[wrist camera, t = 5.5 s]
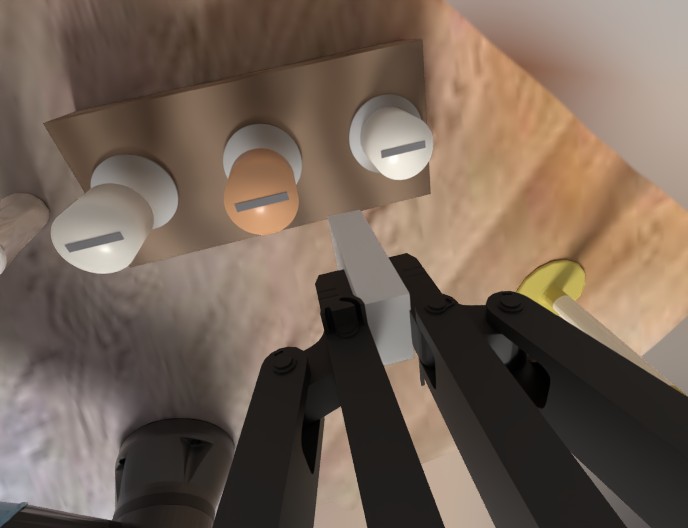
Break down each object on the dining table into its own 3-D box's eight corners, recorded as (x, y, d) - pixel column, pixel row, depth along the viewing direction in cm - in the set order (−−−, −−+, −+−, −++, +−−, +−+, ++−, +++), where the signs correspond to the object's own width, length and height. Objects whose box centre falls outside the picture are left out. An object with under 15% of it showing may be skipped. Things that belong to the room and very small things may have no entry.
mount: (146, 240, 36) (128, 269, 31) (75, 111, 29) (40, 124, 25) (412, 176, 37) (432, 195, 32) (400, 39, 31) (424, 39, 26)
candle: (532, 257, 45) (1130, 747, 14) (597, 261, 48) (1238, 689, 16) (502, 320, 50) (895, 788, 19) (563, 321, 53) (1003, 738, 21)
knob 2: (364, 169, 30) (377, 186, 27) (356, 113, 28) (368, 123, 24) (416, 157, 30) (434, 172, 27) (412, 100, 28) (432, 109, 24)
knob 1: (102, 249, 26) (78, 281, 22) (66, 192, 24) (32, 217, 20) (164, 235, 26) (149, 264, 23) (135, 176, 24) (112, 199, 20)
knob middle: (241, 216, 26) (238, 242, 23) (220, 156, 24) (212, 175, 21) (301, 202, 27) (306, 225, 23) (285, 141, 24) (288, 157, 21)
